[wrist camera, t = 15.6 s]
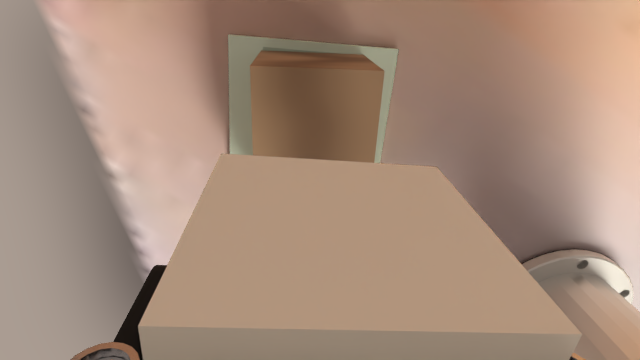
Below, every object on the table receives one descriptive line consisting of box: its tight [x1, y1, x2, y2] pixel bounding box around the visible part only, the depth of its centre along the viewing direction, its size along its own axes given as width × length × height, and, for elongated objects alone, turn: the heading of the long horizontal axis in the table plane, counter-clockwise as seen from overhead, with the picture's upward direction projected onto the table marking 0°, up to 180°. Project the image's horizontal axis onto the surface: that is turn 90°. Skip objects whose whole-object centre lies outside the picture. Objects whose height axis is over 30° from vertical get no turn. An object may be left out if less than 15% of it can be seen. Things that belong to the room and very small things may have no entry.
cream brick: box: [138, 154, 582, 360], centre depth 9 cm, size 6×6×6 cm
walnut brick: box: [250, 50, 385, 163], centre depth 21 cm, size 6×9×6 cm, turn 177°
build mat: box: [228, 34, 399, 163], centre depth 24 cm, size 10×10×1 cm
